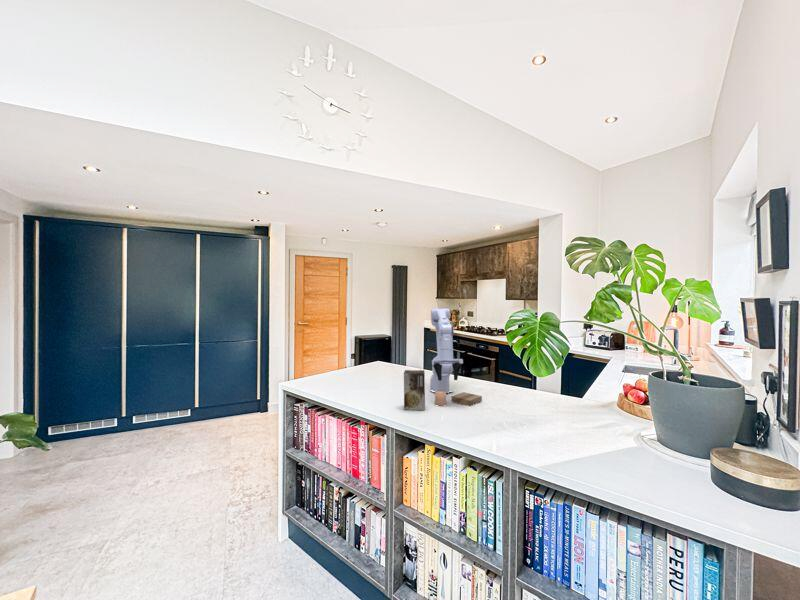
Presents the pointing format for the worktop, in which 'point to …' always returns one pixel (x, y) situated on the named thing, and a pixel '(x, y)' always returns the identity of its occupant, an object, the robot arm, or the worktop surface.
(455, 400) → the walnut base
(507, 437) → the worktop surface
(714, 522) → the worktop surface
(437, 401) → the terracotta cylinder
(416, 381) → the coffee box
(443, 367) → the robot arm
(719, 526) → the worktop surface
